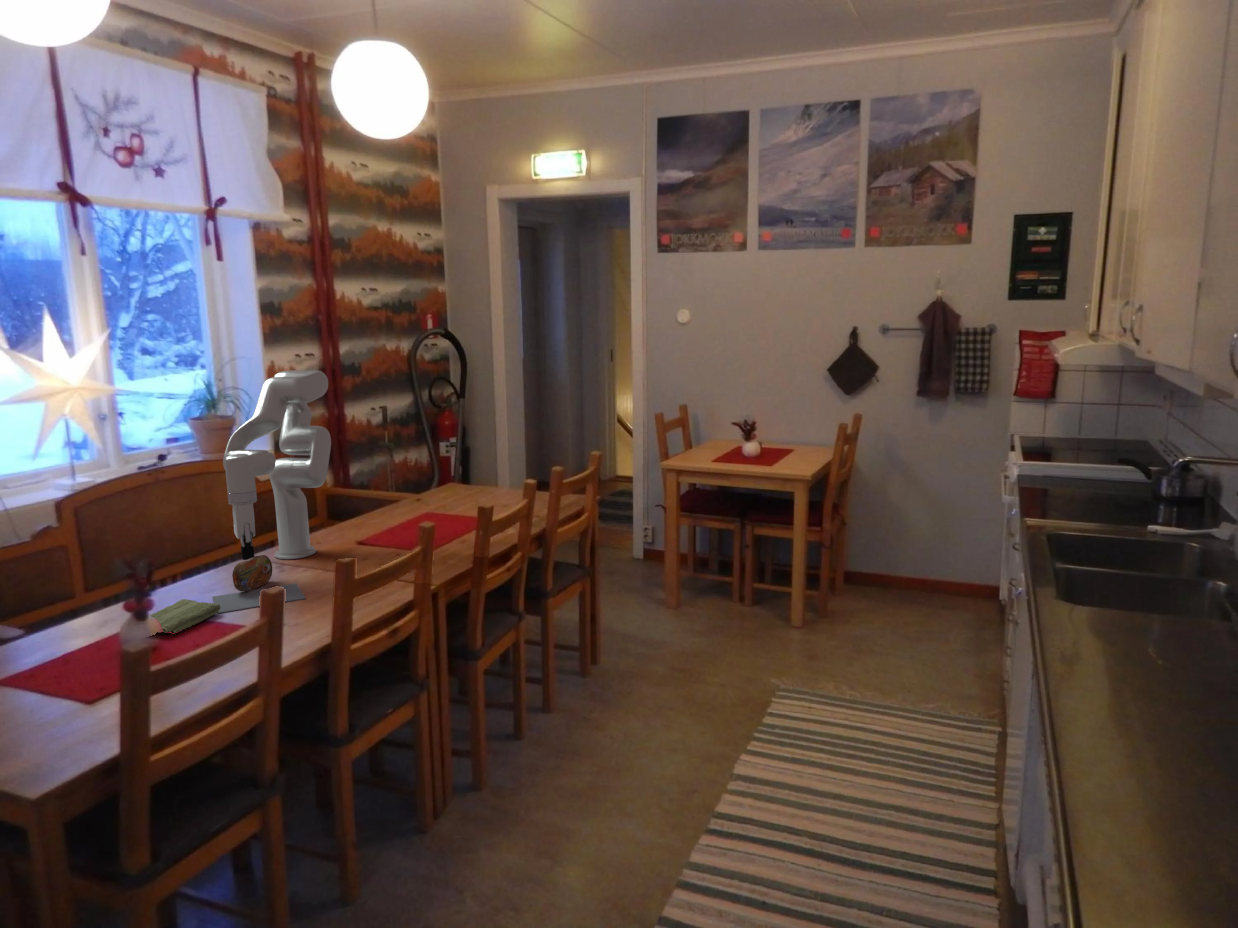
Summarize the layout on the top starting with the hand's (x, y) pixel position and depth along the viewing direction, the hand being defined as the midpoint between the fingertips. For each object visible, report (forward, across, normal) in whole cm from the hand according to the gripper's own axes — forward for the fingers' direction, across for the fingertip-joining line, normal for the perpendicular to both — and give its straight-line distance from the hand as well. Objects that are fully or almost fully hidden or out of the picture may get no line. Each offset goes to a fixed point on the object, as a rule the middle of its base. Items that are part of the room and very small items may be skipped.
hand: (248, 558), depth 246 cm
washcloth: (+7, +28, -20) cm, 35 cm away
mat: (+7, +18, 0) cm, 19 cm away
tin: (+7, +8, 0) cm, 10 cm away
